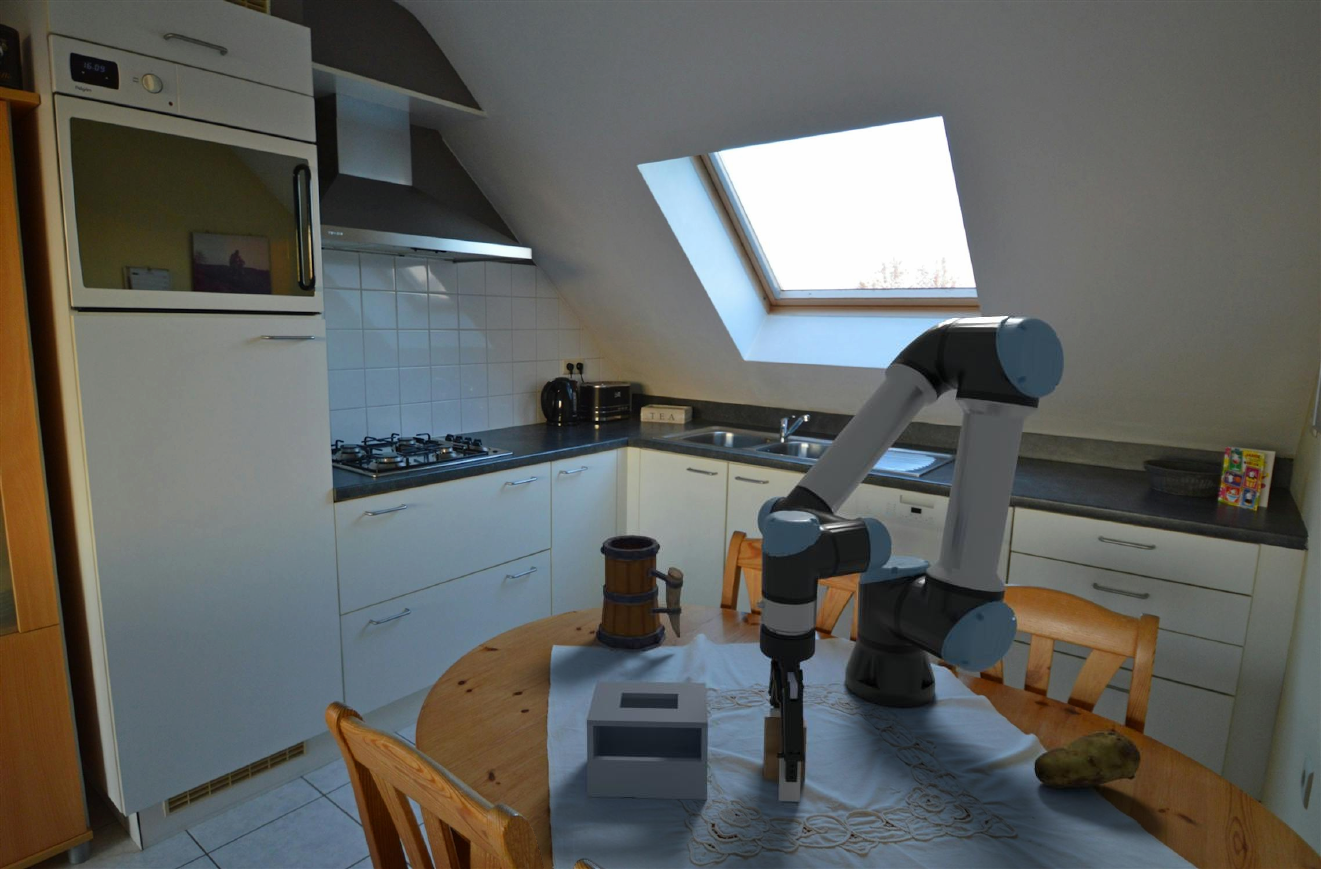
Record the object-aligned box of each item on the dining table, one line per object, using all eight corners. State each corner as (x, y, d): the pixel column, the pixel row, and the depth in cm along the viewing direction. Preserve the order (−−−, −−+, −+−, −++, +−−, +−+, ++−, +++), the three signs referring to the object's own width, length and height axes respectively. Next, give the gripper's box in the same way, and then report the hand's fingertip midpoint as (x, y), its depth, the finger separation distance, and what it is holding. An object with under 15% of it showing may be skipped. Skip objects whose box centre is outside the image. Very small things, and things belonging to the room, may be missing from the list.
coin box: (704, 752, 109) (705, 682, 108) (706, 799, 98) (707, 722, 97) (597, 750, 110) (596, 680, 108) (587, 796, 99) (586, 719, 97)
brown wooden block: (802, 769, 105) (803, 717, 104) (804, 780, 103) (806, 727, 101) (763, 769, 105) (764, 716, 104) (765, 779, 103) (766, 726, 102)
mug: (699, 638, 150) (700, 543, 147) (662, 664, 138) (662, 561, 135) (622, 618, 160) (621, 529, 158) (580, 641, 148) (579, 545, 146)
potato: (1028, 760, 108) (1032, 708, 107) (1130, 779, 103) (1135, 726, 102) (1034, 793, 100) (1039, 738, 99) (1145, 815, 95) (1151, 758, 94)
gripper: (752, 594, 113) (749, 728, 116) (770, 662, 89) (765, 827, 92) (802, 595, 112) (797, 729, 115) (832, 663, 89) (825, 829, 92)
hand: (783, 773), depth 104 cm, fingers open, 11 cm apart
